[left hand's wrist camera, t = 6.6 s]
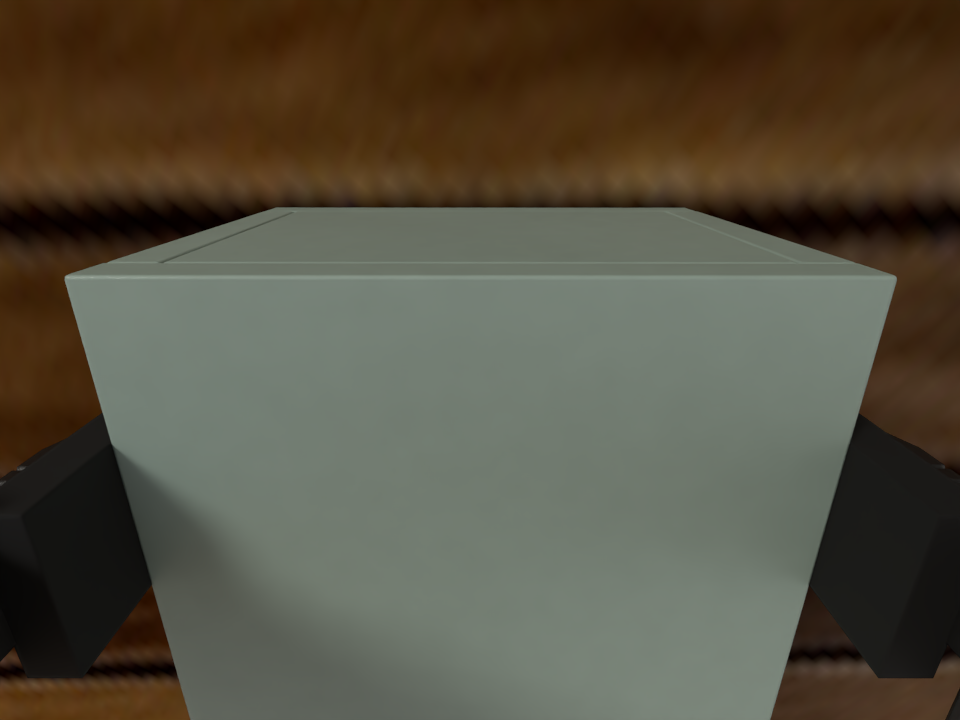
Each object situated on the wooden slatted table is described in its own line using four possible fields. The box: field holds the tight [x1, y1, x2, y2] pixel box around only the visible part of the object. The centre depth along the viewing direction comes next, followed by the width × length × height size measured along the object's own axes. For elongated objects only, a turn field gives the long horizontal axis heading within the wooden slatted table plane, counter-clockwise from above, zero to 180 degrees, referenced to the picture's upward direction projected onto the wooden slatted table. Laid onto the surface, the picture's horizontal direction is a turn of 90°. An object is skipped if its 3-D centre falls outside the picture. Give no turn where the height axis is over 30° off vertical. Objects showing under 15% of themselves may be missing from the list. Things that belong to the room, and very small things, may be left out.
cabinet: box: [65, 208, 897, 720], centre depth 14 cm, size 18×11×8 cm, turn 0°
